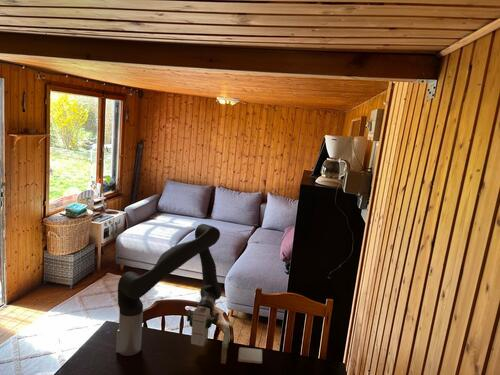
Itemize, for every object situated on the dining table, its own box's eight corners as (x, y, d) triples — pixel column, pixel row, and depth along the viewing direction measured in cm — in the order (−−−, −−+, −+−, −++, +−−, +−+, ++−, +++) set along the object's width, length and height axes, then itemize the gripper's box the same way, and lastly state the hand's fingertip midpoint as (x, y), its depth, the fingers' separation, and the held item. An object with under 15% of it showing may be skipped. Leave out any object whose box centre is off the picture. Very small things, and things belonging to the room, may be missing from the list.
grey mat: (238, 361, 149) (238, 359, 149) (239, 349, 157) (239, 347, 157) (261, 363, 149) (262, 361, 149) (261, 351, 157) (262, 349, 157)
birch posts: (220, 363, 147) (222, 347, 146) (223, 345, 159) (225, 330, 158) (225, 363, 146) (226, 347, 146) (228, 345, 159) (229, 331, 158)
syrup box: (203, 346, 148) (206, 313, 147) (190, 343, 149) (193, 311, 148) (207, 339, 154) (210, 307, 152) (194, 336, 155) (197, 305, 153)
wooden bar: (222, 347, 146) (222, 343, 146) (225, 330, 158) (225, 327, 158) (226, 347, 146) (227, 344, 146) (229, 331, 158) (229, 328, 158)
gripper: (191, 297, 164) (183, 315, 148) (222, 301, 164) (217, 319, 148) (189, 313, 165) (181, 332, 149) (220, 316, 165) (216, 336, 149)
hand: (199, 325), depth 148 cm, fingers closed on syrup box, 6 cm apart
